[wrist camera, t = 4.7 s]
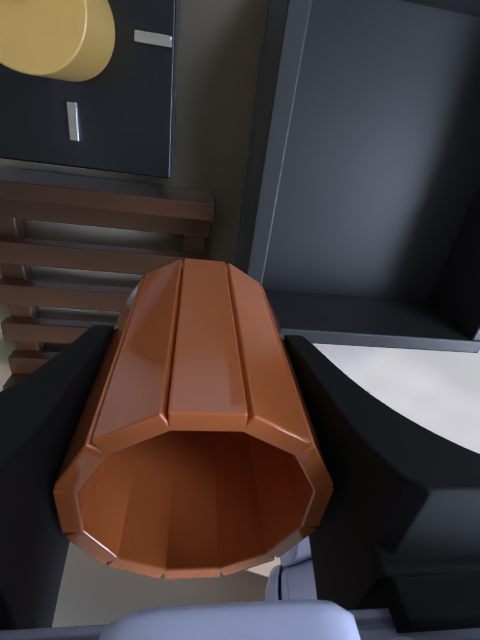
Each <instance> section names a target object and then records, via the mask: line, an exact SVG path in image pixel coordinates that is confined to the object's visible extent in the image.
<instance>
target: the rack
mask: <svg viewBox="0 0 480 640" xmlns="http://www.w3.org/2000/svg"><path fill="white" fill-rule="evenodd" d="M214 209H215V203H214V195H213V191H206V190H198V189H189V188H181V187H172V186H164V185H155V184H147V183H138V182H130V181H121V180H113V179H104V178H96V177H87V176H79V175H70V174H62V173H53V172H45V171H36V170H28V169H19V168H11V167H2V166H0V268H1V273H2V278H0V304H8V306H9V311H10V315H11V317H6V318H5V319H4V320H3V321H2V322H1V328H2V332H3V336H4V340H10V341H16V343H17V348H18V350H14V351H13V352H12V353H11V355H10V356H9V357H8V359H9V363H10V368H11V372H12V374H11V376H10V377H9V379H8V380H7V382H6V383H5V384H4V386H3V390H5V389H7V388H9V387H10V386H12V385H14V384H15V383H17V382H18V381H20V380H22V379H23V378H25V377H26V376H28V375H29V374H31V373H32V372H33V371H35V370H36V369H38V368H39V367H40V366H42V365H43V364H45V363H46V362H48V361H49V360H50V359H52V358H53V357H54V356H56V355H57V354H58V353H59V352H45V346H44V342H48V343H66V344H71V343H72V342H73V341H74V340H76V339H77V338H78V337H79V336H81V335H82V334H83V333H84V332H85V331H87V330H88V329H89V328H90V327H92V326H93V325H109V326H114V328H115V326H116V323H104V322H88V321H72V320H56V319H40V317H39V311H38V306H40V307H55V308H70V309H85V310H100V311H115V312H121V310H122V307H123V305H124V304H125V302H126V301H127V299H128V298H129V296H130V295H131V293H132V292H133V290H134V289H135V288H122V287H109V286H96V285H83V284H70V283H57V282H44V281H33V275H32V269H31V265H32V266H44V267H56V268H68V269H80V270H93V271H105V272H117V273H129V274H141V275H146V274H148V273H151V272H153V271H155V270H157V269H159V268H162V267H164V266H166V265H168V264H171V263H173V262H175V261H177V260H180V259H181V260H182V261H184V259H186V258H187V259H200V260H208V255H205V244H206V237H210V236H211V227H212V221H213V220H214ZM23 219H27V220H37V221H47V222H58V223H68V224H78V225H88V226H98V227H108V228H118V229H128V230H138V231H149V232H159V233H169V234H179V235H184V239H183V253H180V252H169V251H158V250H147V249H136V248H126V247H115V246H104V245H93V244H82V243H71V242H60V241H49V240H38V239H28V238H26V233H25V227H24V221H23Z"/></svg>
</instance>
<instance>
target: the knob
mask: <svg viewBox="0 0 480 640" xmlns="http://www.w3.org/2000/svg"><path fill="white" fill-rule="evenodd" d="M114 44H115V24H114V19H113V14H112V11H111V8H110V5H109V3H108V0H0V63H1V64H3V65H4V66H6V67H8V68H10V69H12V70H15V71H18V72H20V73H24V74H29V75H34V76H40V77H47V78H53V79H59V80H65V81H72V82H80V81H85V80H89V79H91V78H93V77H95V76H97V75H98V74H99V73H100V72H101V71H103V69H104V68H105V67H106V66H107V64H108V62H109V61H110V58H111V56H112V53H113V49H114Z"/></svg>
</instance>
